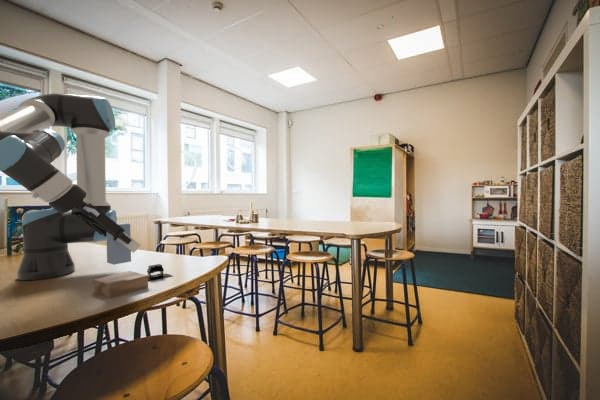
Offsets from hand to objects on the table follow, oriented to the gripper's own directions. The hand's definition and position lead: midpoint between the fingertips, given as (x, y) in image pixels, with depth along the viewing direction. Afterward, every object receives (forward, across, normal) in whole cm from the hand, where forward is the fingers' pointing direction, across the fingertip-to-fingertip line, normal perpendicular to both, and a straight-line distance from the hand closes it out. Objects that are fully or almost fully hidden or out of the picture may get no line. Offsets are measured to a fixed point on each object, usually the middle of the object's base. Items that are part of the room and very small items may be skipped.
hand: (132, 247), depth 84 cm
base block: (+6, 0, -11) cm, 13 cm away
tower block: (0, 0, -5) cm, 5 cm away
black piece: (+15, -4, -3) cm, 16 cm away
